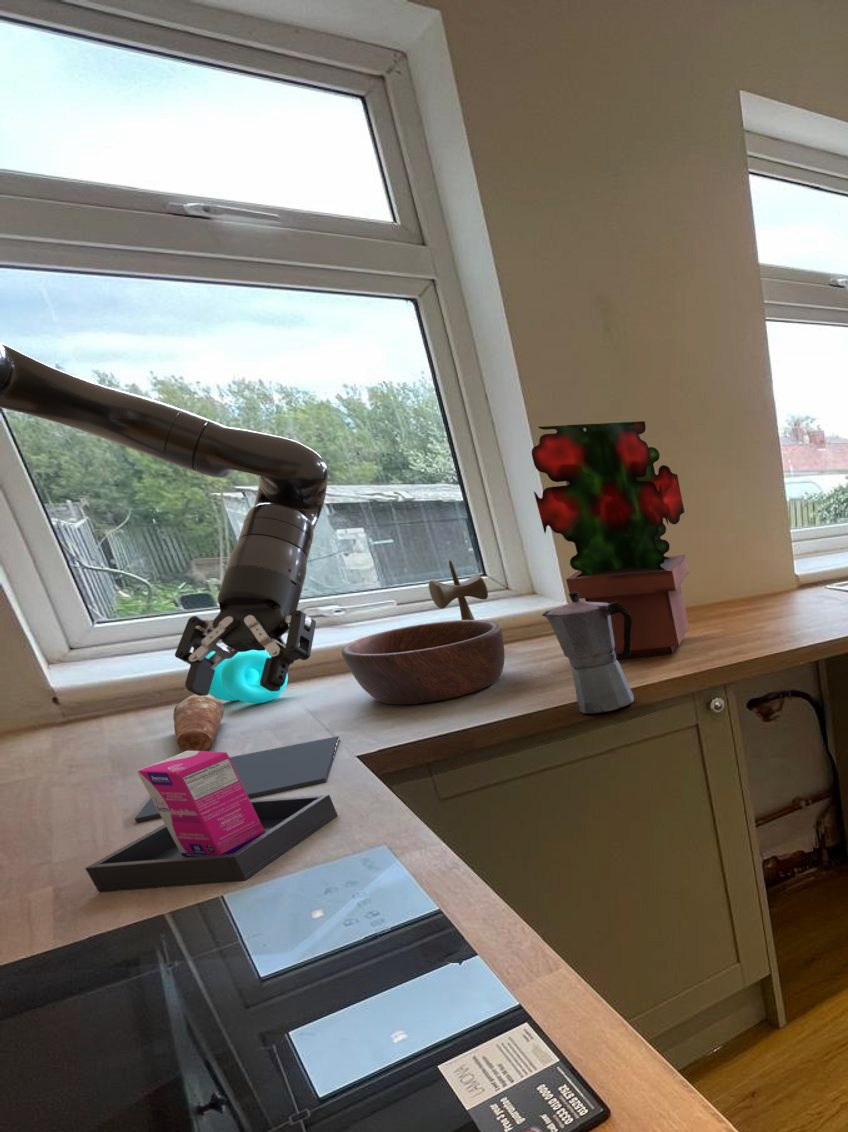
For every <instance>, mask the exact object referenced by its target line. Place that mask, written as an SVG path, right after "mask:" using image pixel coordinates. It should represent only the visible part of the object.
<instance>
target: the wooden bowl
mask: <svg viewBox="0 0 848 1132" xmlns="http://www.w3.org/2000/svg"><path fill="white" fill-rule="evenodd" d="M341 656H342V658H343V660H344V662H345V663H346V665H347V667H348V669H349V670H350V672H351V674H352V676H353V677H354V679H355V680H356V681H357V683H358V684H359V686H360V687H361V688H362V689H363V691H365V692H366V693H367V694H368V695H370V696H371V697H372V698H373V699H375V700H376V701H378V702H381V703H383V704H386V705H387V704H388V705H395V706H396V705H405V706H406V705H417V704H418V705H419V704H426V703H432V702H433V703H434V702H439V701H444V700H449V699H454V698H458V697H462V696H465V695H468V694H472V693H475V692H478V691H480V690H483V689H486V688H487V687H490V686H491V685H493V684H495V683H496V682H497V681H498V680H499V678H500V677H501V675H502V673H503V671H504V665H505V659H506V657H505V656H506V655H505V643H504V635H503V631H502V627H501V625H500V624H499V623H497V622H495V621H492V620H487V619H475V620H462V619H455V620H444V621H435V622H428V623H419V624H415V625H408V626H403V627H398V628H394V629H389V630H384V631H380V632H377V633H373V634H370V635H366V636H363V637H360V638H358V639H355V640H353V641H351V642H349V643H347V644H346V645H345V646H343V647H342V649H341Z"/></svg>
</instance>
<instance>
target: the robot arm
mask: <svg viewBox="0 0 848 1132" xmlns="http://www.w3.org/2000/svg"><path fill="white" fill-rule="evenodd" d="M0 409H4V410H8V411H13V412H17V413H20V414H25V415H29V416H31V417H37V418H40V419H43V420H46V421H47V420H48V421H50V422H54V423H56V424H60V425H64V426H67V427H70V428H73V429H75V430H78V431H82V432H84V433H87V434H91V435H94V436H96V437H99V438H102V439H104V440H107V441H110V442H113V443H115V444H117V445H120V446H123V447H124V448H125V447H126V448H128V449H132V450H134V451H136V452H140V453H141V454H145V455H147V456H150V457H153V458H156V459H157V460H160V461H163V462H167V463H169V464H173V465H175V466H178V467H181V468H184V469H187V470H189V471H193V472H196V473H199V474H202V475H205V476H208V477H211V478H217V479H224V478H227V477H229V476H231V475H232V474H233V473H234V471H236V472H242V473H247V474H251V475H255V476H258V477H259V480H258V481H259V482H258V488H257V493H256V497H255V501H254V505H253V507H251V508H250V509H249V510H248V512H247V514H246V515H245V518H244V521H243V523H242V526H241V529H240V533H239V537H238V539H237V542H236V544H235V546H234V548H233V550H232V552H231V554H230V556H229V559H228V563H227V566H226V569H225V572H224V576H223V579H222V582H221V585H220V589H219V592H218V595H217V603H218V605H219V612H218V614H217V615H216V616H215V618H214V619H202V618H200V617H198V616H196V615H193V616H191V617H189V618H188V620H187V622H186V625H185V627H184V630H183V633H182V635H181V636H180V640H179V643H178V645H177V647H176V650H175V653H174V657H175V658H177V659H179V660H180V661H182V662H184V663H187V664H188V665H189V669H188V672H187V676H186V679H185V682H184V685H185V688H186V689H187V691H188V692H190V693H192V694H193V695H194V694H196V695H198V696H205V695H208V693H209V690H210V686H211V683H212V680H213V676H214V673H215V670H214V668H215V667H216V666H218V665H219V664H220V663H221V662H222V661H223V660H224V659H230V658H232V657H233V656H234V655H236V654H237V653H238V652H246V651H250V650H257V651H267V652H268V654H269V655H270V656H271V658H266V662H265V665H264V669H263V673H262V676H261V680H260V685H261V686H262V687H264V688H266V689H268V690H269V691H279V690H280V688H281V686H283V684H284V683H285V678H286V675H287V673H288V671H289V667H290V666H292V665H293V664H294V663H295V661H298V660H301V661H306V660H308V659H309V658H310V657H311V653H312V647H313V642H314V637H315V630H316V625H317V621H316V620H315V619H313V618H312V617H311V616H309V615H307V613H304V612H303V611H301V610H299V609H298V606H299V602H300V600H301V595H302V591H303V588H304V584H305V580H306V576H307V567H308V566H307V564H308V559H309V555H310V551H311V547H312V544H313V539H314V531H315V530H314V529H315V527H316V525H317V523H318V521H319V519H320V516H321V513H322V511H323V507H324V504H325V500H326V495H327V487H328V479H329V468H328V465H327V463H326V461H325V460H324V458H323V457H322V456H321V455H320V454H318V452H317V451H314V450H313V449H312V448H310V447H309V446H307V445H304V444H302V443H301V442H298V441H296V440H293V439H290V438H287V437H283V436H278V435H274V434H269V433H263V432H259V431H254V430H249V429H243V428H237V427H230V426H226V425H223V424H220V423H218V422H216V421H213V420H210V419H208V418H205V417H203V416H200V415H198V414H195V413H193V412H190V411H188V410H187V411H186V410H184V409H181V408H178V407H176V406H173V405H171V404H167V403H164V402H161V401H159V400H154V399H152V398H148V397H145V396H141V395H138V394H135V393H130V392H127V391H123V390H120V389H116V388H112V387H109V386H105V385H102V384H98V383H96V382H92V381H89V380H86V379H84V378H80V377H78V376H76V375H75V376H74V375H72V374H71V373H67V372H65V371H62V370H60V369H57V368H56V367H55V368H54V367H52V366H50V365H48V364H45V363H43V362H42V361H39V360H37V359H35V358H33V357H31V356H29V355H27V354H25V353H23V352H21V351H20V350H17V349H16V348H15V349H14V348H12V347H11V346H9V345H7V344H5V343H4V342H1V341H0ZM286 633H287V635H286V636H287V637H286V641H284V639H283V638H282V636H283V635H284V634H286ZM220 641H221V642H222V643H223V644H224V645H225V647H226V648H223V647H222V646H219V645H218V642H220ZM192 648H193V650H192ZM191 650H192V652H191ZM212 651H214V652H215V654H213V655H212V656H211V657H210V658H209V659H207V658H205V657H206V656H207V655H208V654H209V653H211V652H212Z"/></svg>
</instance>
